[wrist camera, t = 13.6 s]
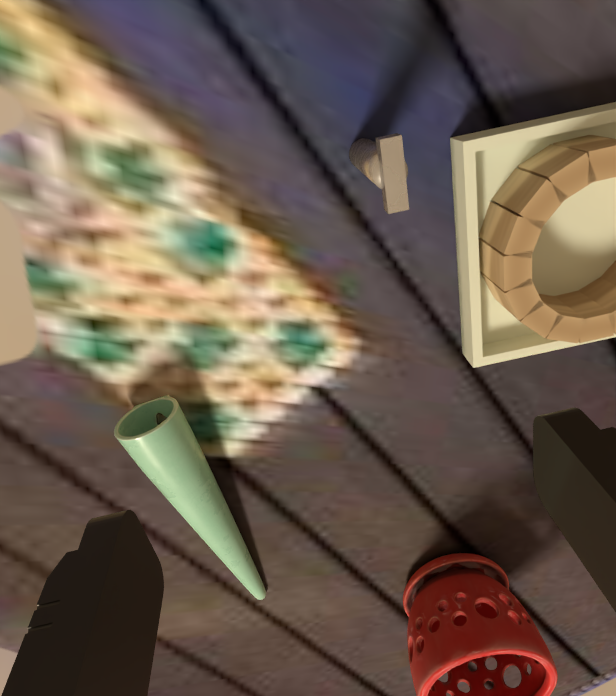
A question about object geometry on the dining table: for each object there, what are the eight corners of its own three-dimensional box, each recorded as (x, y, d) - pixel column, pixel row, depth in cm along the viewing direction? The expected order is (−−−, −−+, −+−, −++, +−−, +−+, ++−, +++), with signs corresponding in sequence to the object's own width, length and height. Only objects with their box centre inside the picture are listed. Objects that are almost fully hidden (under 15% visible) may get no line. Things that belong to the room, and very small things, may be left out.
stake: (344, 126, 36) (372, 141, 28) (373, 120, 36) (409, 133, 28) (353, 185, 38) (381, 215, 30) (380, 179, 38) (415, 207, 30)
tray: (450, 137, 37) (462, 141, 35) (695, 84, 37) (724, 85, 35) (462, 353, 45) (473, 367, 43) (663, 309, 45) (684, 321, 43)
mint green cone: (238, 647, 53) (106, 448, 40) (238, 598, 57) (121, 407, 45) (289, 631, 52) (172, 425, 40) (285, 583, 57) (181, 387, 44)
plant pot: (423, 530, 55) (465, 639, 44) (526, 554, 58) (588, 661, 48) (370, 610, 60) (396, 726, 49) (467, 629, 63) (512, 740, 53)
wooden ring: (474, 161, 37) (501, 171, 33) (668, 116, 37) (718, 121, 33) (482, 334, 44) (506, 360, 40) (647, 296, 44) (687, 318, 40)
